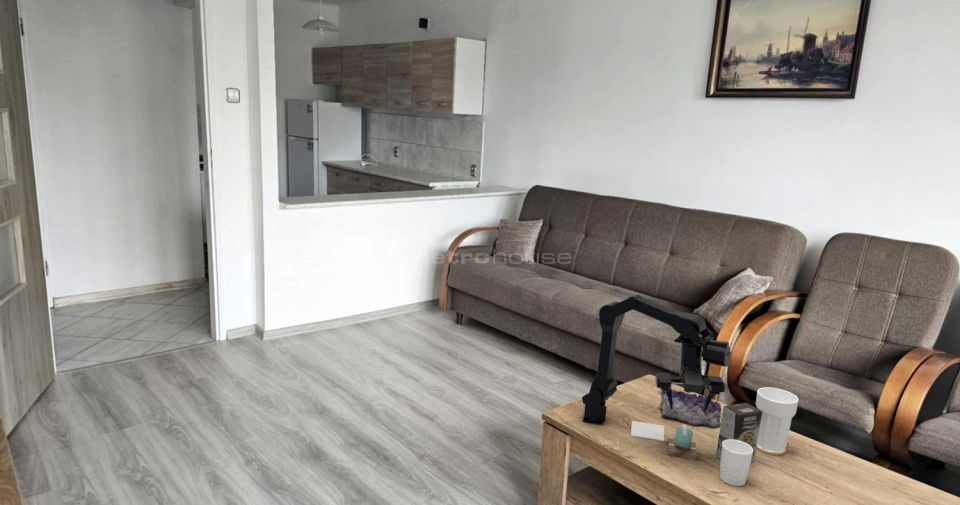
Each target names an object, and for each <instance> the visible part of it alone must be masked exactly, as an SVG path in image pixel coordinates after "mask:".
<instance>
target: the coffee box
mask: <svg viewBox="0 0 960 505" xmlns="http://www.w3.org/2000/svg"><path fill="white" fill-rule="evenodd" d="M722 408H723V409H722V412H721V418H720V421H721V425H720V426H719V432H718V440H717V446H716V452H715V456H716V457H717V458H718V459H720V460H721V451H722V442H723V441H724V440H728V439H734V440H739V441H742V442H745V443H747V444H749V445H750V446H751V447H752V448H753V454H752V458H751V463H754V462H755V459H756V458H755V457H756V453H757V449H756V447H757V441H758V435H759V429H760V423H761V417H762V411H761V410H759V409H758V408H757V407H755V406H753V405H752V404H749V403H748V402H742V403H736V404H730V405H728V404H727V405H723V406H722Z"/></svg>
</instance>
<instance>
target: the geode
mask: <svg viewBox="0 0 960 505" xmlns="http://www.w3.org/2000/svg"><path fill="white" fill-rule="evenodd" d="M704 397H705V394H704V395H703V394H701V393H698V396H697V393H693V394H692V393H687V392H685V391H682V390H679V391H677V390H676V389H674V388H672V401H673V409H671V407H670V404H669V400H668V397H667V394H666V392H665V391H662V390H661V391H660V398H661V400H660V403H659V407H660V409H661V410H660V411H662V412H661V416H662V417H665V418H670V419H674V420H678V421H680V422H682V423H686V424H689V425H691V426H701V425H702V426H708V427H709V428H711V429H717V428H720V426H721V419H722V405H721V403H720V402H718V401H717V400H716V401H714V400H713V399H712V400H711V401H710V403H709V405H708V408H707V410H706V412H704V411H703V405H704Z"/></svg>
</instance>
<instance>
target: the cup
mask: <svg viewBox="0 0 960 505" xmlns="http://www.w3.org/2000/svg"><path fill="white" fill-rule="evenodd" d="M755 399H756V400H755V406H756V408H757V409H759V410H761V411H762V417H761V423H760V429H759V435H758V441H757V447H756V451H757V450H758V451H759V452H761V453H763V454H766V455H768V456H769V455H770V456H776V457H777V456H783V455H785V454H786V451H787V444H788V439H789V434H790V429H791V426H792V425H791V424H792V419H793V418H794V416H795V415H796V414H797V410H798V405H799V400H800V399H799V398H798V396H797V395H796V394H794V393H792V392H790V391H788V390H786V389H780V388H778V387H771V386H768V387H761V388H758V389H757V392H756V398H755Z"/></svg>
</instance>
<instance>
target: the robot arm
mask: <svg viewBox="0 0 960 505" xmlns="http://www.w3.org/2000/svg"><path fill="white" fill-rule="evenodd" d="M632 310H633V311H635V312H638V313H641V314H643V315H645V316H646V317H647V316H648V317H649V318H652V319H655V320H657V321H658V322H661V323H664V324H666V325H668V326H670V327H671V328H672V329H673V330H674V331H675V332H676V333H678V334H679V336H677V337H676V338H675V339H674V340H673V341H674V343H677V344H681V347H680V363H679V377H672V376H671V373H669V372H668V373H667V372H656V374H655V386H656V388H658V389H661V390H662V391H665V392H666V394H667V397H668V400H669V404H670V407H671V409H673V401H672V389H673V388H672V385H679V386H680V385H681V386H683V390H684V391H683V392H685V393H688V394H691V393H693V394H701V393H702V392H703V390H705V392H704V405H703V411H704V412H706V410H707V408H708V405H709V403H710V401H711V400H712V401H713V398H714V397H715V396H717V395H720V394H721V393H725V392H726V383H725V382H724V381H725V380H724V379H723V378H722V377H721V376H713V375H704V374H702V361H703V362H705V363H706V364H711V365H716V366H721V367H725V368H726V367H727V368H728V366H729V364H730V362H731V357H732V351H731V348H730V342H729V341H722V340H720V341H719V340H715V339H714V337H713V335H712V334H711V332H710V330H709V329H708V327H707V324H706V323H707V322H706V320H705V318H704V317H703V316H701V315H699V314H696V313H690V312H685V311H683V312H682V311H677V310H674V309H672V308H670V307H666V306H664V305H663V304H660V303H657V302H655V301H652V300H650V299H648V298H645V297H643V296H641V295H639V294H633V295H631V296H629V297H628V298H626V299H624V300H622V301H620V302H619V301H611V302H609V303H607V304H605V305H602V307H600V308H599V310H598V321H599V323H598V324H599V325H600V328H601V336H600V338H601V339H600V347H599V352H598V353H599V355H598V363H597V370H596V374H595V375H594V378H593V380H592V382H591V385H590V388H589V391H588V393H586V394H585V395H582V396H581V400H582V404H584V411H583V412H584V413H583V418H582V422H583V423H589V424H595V425H602V426H603V425H604V422H606V420H607V419H606V418H607V411H608V406H607V405H606V402H607V401H608V400H609V399H610V398H611V397H612V396H613V395H614V394H615V393H616V392H617V391H618V388H617V385H618V382H619V379H617V378H614V375H613V368H614V362H615V353H616V346H617V337H618V331H619V330H620V328H621V325H622V324H623V321H624V318H625V315H626V313H628V312H630V311H632ZM700 335H701V336H700Z"/></svg>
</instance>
